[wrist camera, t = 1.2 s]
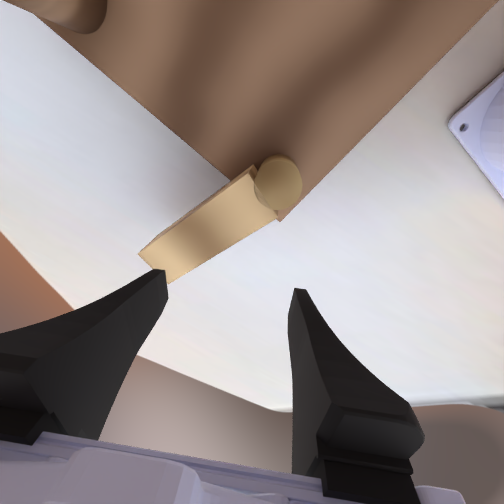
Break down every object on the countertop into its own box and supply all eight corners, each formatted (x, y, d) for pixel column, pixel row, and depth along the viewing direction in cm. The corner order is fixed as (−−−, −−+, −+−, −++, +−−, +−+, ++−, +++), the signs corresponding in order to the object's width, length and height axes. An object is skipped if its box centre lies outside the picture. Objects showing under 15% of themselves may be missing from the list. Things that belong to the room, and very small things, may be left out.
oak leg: (283, 142, 15) (283, 146, 12) (307, 183, 16) (313, 196, 14) (157, 235, 20) (137, 254, 17) (183, 262, 21) (168, 284, 18)
